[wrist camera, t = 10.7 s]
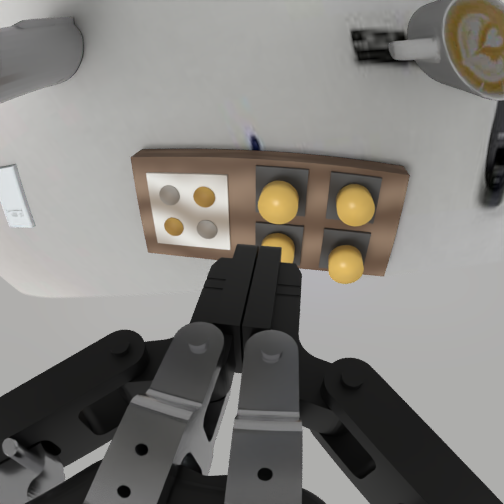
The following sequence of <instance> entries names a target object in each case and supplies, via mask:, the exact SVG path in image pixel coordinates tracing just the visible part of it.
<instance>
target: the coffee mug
mask: <svg viewBox="0 0 504 504" xmlns="http://www.w3.org/2000/svg"><path fill="white" fill-rule="evenodd" d="M407 37H408V40H404V41H394V42H390V43H389V52H390V54H391V57H392V58H393V59H395V60H415V61H416V63H417V64H418V66H419V67H420V68H421V69H422V70H423V71H424V72H425V73H426V74H427V75H428V76H429V77H431V78H432V79H434V80H436V81H438V82H440V83H443V84H446V85H449V86H452V87H455V88H458V89H461V90H464V91H467V92H470V93H472V94H475V95H478V96H480V97H483V98H486V99H491V100H504V3H503V2H501V1H500V0H438V1H435V2H433V3H430V4H427V5H424V6H422V7H421V8H419V9H418V10H417V11H416V12H415V13H414V14H413V16H412V17H411V19H410V21H409V25H408V32H407Z"/></svg>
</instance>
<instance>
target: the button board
mask: <svg viewBox="0 0 504 504" xmlns="http://www.w3.org/2000/svg"><path fill="white" fill-rule="evenodd" d="M131 163H132V169H133V175H134V181H135V187H136V193H137V199H138V204H139V209H140V215H141V220H142V225H143V230H144V235H145V239H146V244H147V249H148V252H149V253H158V254H167V255H176V256H185V257H195V258H204V259H213V260H219V259H220V258H221V257H224V258H233V255H234V252H235V249H236V246H237V244H246V245H259V248H260V246H261V244H262V241H263V239H264V238H265V237H266V236H268V235H270V234H273V233H281V234H284V235H287V236H288V237H290V238H291V239H292V241H293V243H294V245H295V252H294V260H293V263H296V265H297V266H298V268H302V269H312V270H322V271H329V268H328V257H329V254H330V253H331V251H332V250H333V249H335V248H336V247H338V246H342V245H350V246H353V247H355V248H357V249H358V250H359V251H360V253H361V255H362V260H363V266H364V271H363V274H364V275H375V276H384V274H385V271H386V268H387V264H388V261H389V258H390V254H391V250H392V247H393V243H394V240H395V236H396V232H397V228H398V224H399V220H400V216H401V212H402V208H403V204H404V199H405V195H406V190H407V186H408V181H409V176H410V175H409V174H408V172H407V171H406V170H405V168H404V167H403V166H400V165H393V164H387V163H380V162H373V161H365V160H358V159H349V158H341V157H332V156H322V155H311V154H300V153H287V152H272V151H254V150H230V149H142V150H140V151H139V152H138V153H136V154H135V155H133V156H132V157H131ZM273 181H285V182H287V183H289V184H291V185H292V186H293V187H294V188H295V189H296V191H297V193H298V196H299V202H298V211H297V214H296V216H295V217H294V218H293V219H292V220H291V221H289V222H288V223H285V224H273V223H270V222H268V221H267V220H265V219H264V218H263V217H262V216H261V214H260V213H259V210H258V201H259V198H260V195H261V192H262V190H263V188H264V187H265V186H266V185H267V184H268V183H270V182H273ZM350 184H359V185H362V186H364V187H365V188H367V189H368V191H369V192H370V194H371V196H372V199H373V202H374V205H375V212H374V215H373V217H372V218H371V220H370V221H369V222H367V223H366V224H364V225H361V226H349V225H347V224H345V223H343V222H342V221H341V220H340V218H339V216H338V214H337V207H336V197H337V194H338V192H339V191H340V190H341V189H342V188H343V187H345V186H347V185H350Z"/></svg>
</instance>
